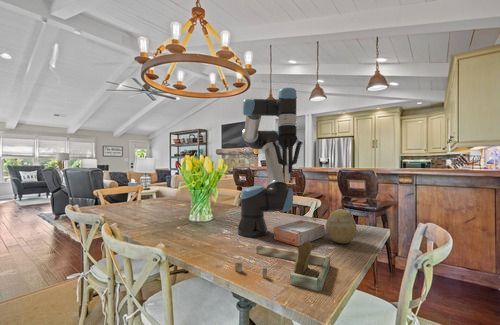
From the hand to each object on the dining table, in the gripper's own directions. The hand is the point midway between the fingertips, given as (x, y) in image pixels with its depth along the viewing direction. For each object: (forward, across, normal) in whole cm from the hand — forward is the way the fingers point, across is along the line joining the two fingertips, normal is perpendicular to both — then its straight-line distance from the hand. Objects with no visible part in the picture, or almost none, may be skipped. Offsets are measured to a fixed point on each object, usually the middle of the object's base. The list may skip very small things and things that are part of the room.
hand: (287, 180), depth 101 cm
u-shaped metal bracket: (+28, +6, -21) cm, 35 cm away
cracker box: (+26, +6, +22) cm, 34 cm away
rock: (+28, +11, -20) cm, 36 cm away
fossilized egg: (+28, +20, +14) cm, 38 cm away
